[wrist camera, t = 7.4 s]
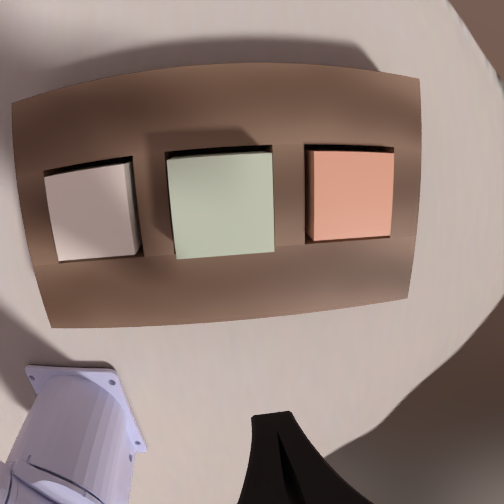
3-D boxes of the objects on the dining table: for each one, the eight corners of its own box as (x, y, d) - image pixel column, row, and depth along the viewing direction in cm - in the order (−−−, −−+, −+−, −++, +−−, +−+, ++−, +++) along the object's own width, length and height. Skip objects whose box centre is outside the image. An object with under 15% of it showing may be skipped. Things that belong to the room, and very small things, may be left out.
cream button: (147, 235, 17) (135, 254, 14) (80, 241, 16) (58, 261, 13) (139, 159, 15) (123, 164, 12) (69, 170, 15) (44, 177, 12)
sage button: (263, 231, 16) (274, 251, 13) (182, 237, 16) (176, 259, 13) (260, 150, 15) (271, 153, 12) (175, 156, 14) (166, 160, 12)
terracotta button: (364, 220, 18) (390, 235, 15) (297, 224, 17) (313, 240, 15) (366, 149, 16) (393, 153, 14) (296, 149, 16) (313, 151, 13)
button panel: (384, 277, 20) (407, 298, 17) (69, 303, 18) (51, 328, 15) (390, 85, 16) (419, 78, 13) (39, 106, 14) (11, 103, 11)
